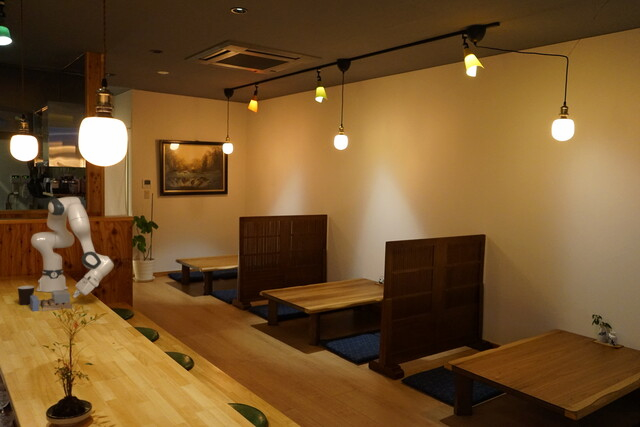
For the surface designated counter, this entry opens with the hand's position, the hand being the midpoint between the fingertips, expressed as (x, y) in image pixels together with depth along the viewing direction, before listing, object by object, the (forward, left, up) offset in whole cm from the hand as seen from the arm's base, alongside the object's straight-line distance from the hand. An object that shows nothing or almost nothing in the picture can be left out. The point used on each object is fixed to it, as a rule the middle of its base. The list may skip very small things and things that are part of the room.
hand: (73, 296), depth 299 cm
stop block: (0, -21, -5) cm, 21 cm away
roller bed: (0, -10, -5) cm, 11 cm away
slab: (0, -7, -2) cm, 7 cm away
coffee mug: (-14, -23, -5) cm, 27 cm away
